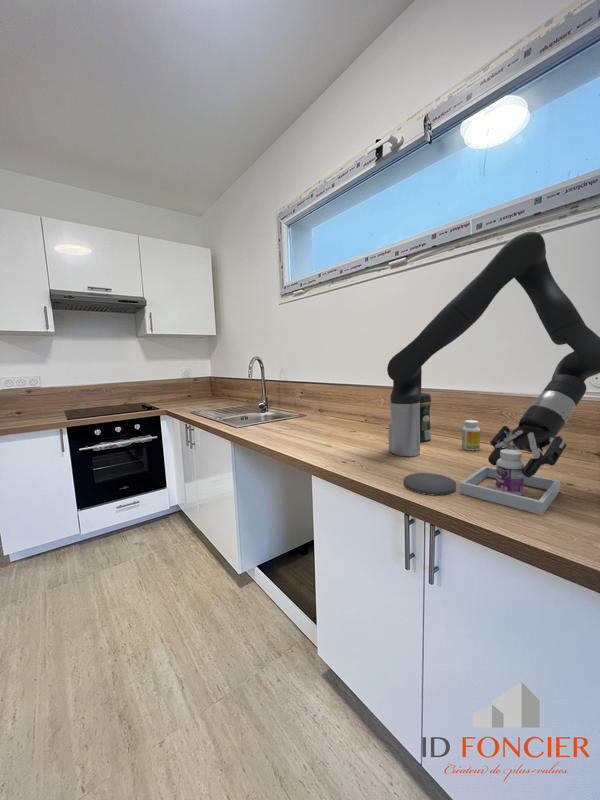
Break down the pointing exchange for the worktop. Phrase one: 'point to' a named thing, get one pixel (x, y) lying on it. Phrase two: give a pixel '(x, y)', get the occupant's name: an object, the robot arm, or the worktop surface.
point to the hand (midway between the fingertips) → (507, 469)
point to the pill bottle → (510, 472)
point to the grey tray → (509, 499)
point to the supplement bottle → (471, 435)
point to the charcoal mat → (430, 483)
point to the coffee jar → (425, 417)
